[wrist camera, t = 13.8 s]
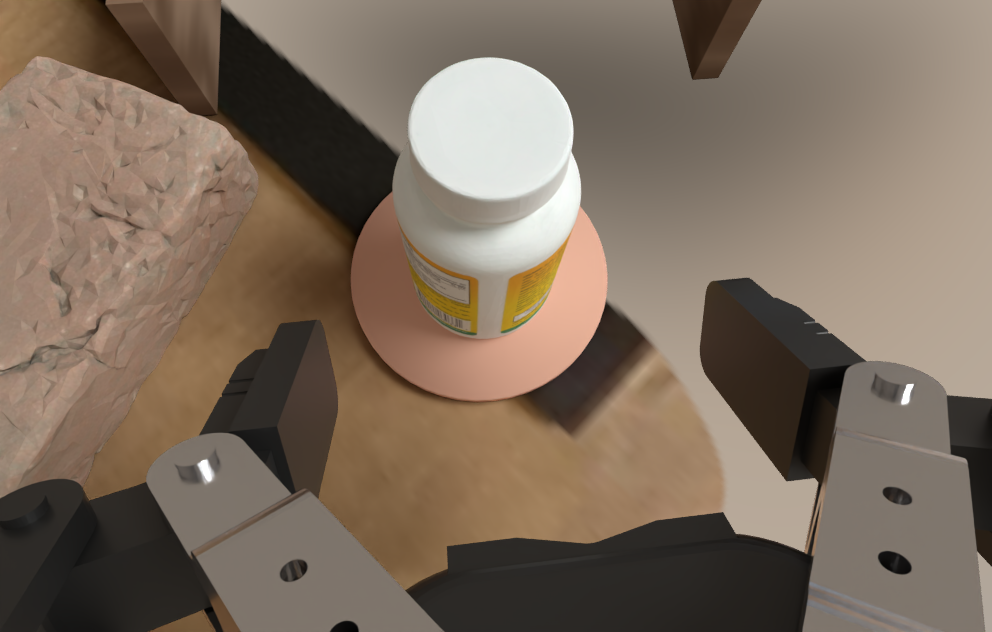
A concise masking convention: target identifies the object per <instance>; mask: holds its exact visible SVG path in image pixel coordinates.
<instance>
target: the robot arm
mask: <svg viewBox="0 0 992 632" xmlns="http://www.w3.org/2000/svg"><path fill="white" fill-rule="evenodd" d="M700 358H701V363H702V367H703V370H704V372H705V374H706V376H707V377H708V379H709V380H710V381H711V383H712V384H713V385H714V386H715V388H716V389H717V390H718V392H719V393H720V394H721V396H722V397H723V398H724V400H725V401H726V402H727V404H728V405H729V406H730V407H731V409H732V410H733V411H734V413H735V414H736V415H737V417H738V418H739V419H740V421H741V422H742V423H743V425H744V426H745V427H746V429H747V430H748V431H749V432H750V434H751V435H752V436H753V438H754V439H755V440H756V442H757V443H758V444H759V446H760V447H761V448H762V450H763V451H764V452H765V454H766V455H767V456H768V457H769V459H770V460H771V461H772V463H773V464H774V465H775V467H776V468H777V469H778V471H779V472H780V473H781V475H782V476H783V477H784V479H785V480H786V481H794V480H802V479H810V478H815V479H816V480H817V481H818V487H817V491H816V495H815V499H814V504H813V509H812V514H811V519H810V524H809V530H808V535H807V540H806V545H805V550H804V552H802V551H799V550H797V549H795V548H792V547H789V546H787V545H784V544H781V543H778V542H775V541H771V540H767V539H764V538H760V537H754V536H749V535H742V534H735V532H734V530H733V528H732V527H731V525H730V523H729V522H728V520H727V518H726V517H725V515H724V513H723V512H722V513H714V514H705V515H697V516H689V517H681V518H673V519H665V520H657V521H654V522H651V523H648V524H646V525H643V526H640V527H637V528H635V529H632V530H629V531H626V532H624V533H621V534H618V535H615V536H613V537H610V538H607V539H604V540H602V541H599V542H595V543H589V544H584V543H572V542H560V541H548V540H536V539H525V538H511V539H503V540H494V541H486V542H478V543H470V544H462V545H454V546H447V556H448V569H446V570H444V571H441V572H439V573H436V574H434V575H432V576H430V577H428V578H426V579H424V580H421V581H420V582H418V583H416V584H415V585H413V586H412V587H410V588H408V589H407V590H404V589H403V588H402V587H401V586H400V585H399V584H398V583H397V582H396V581H395V580H394V579H393V578H392V577H391V575H390V574H389V573H388V572H387V571H386V570H385V569H384V568H383V567H382V566H381V565H380V564H379V563H378V562H377V561H376V560H375V559H374V558H373V557H372V555H371V554H370V553H369V552H368V551H367V550H366V549H365V548H364V547H363V546H362V545H361V544H360V543H359V542H358V541H357V540H356V539H355V538H354V537H353V536H352V534H351V533H350V532H349V531H348V530H347V529H346V528H345V527H344V526H343V525H342V524H341V523H340V522H339V521H338V520H337V519H336V518H335V517H334V516H333V514H332V513H331V512H330V511H329V510H328V509H327V508H326V507H325V506H324V505H323V504H322V503H321V502H320V501H319V500H318V496H319V492H320V487H321V483H322V479H323V474H324V470H325V466H326V461H327V457H328V453H329V448H330V444H331V440H332V435H333V431H334V427H335V422H336V418H337V412H338V395H337V387H336V382H335V377H334V373H333V368H332V364H331V359H330V355H329V350H328V346H327V341H326V337H325V332H324V329H323V326H322V323H321V322H320V320H310V321H300V322H290V323H281V324H280V325H279V327H278V329H277V331H276V334H275V336H274V338H273V340H272V342H271V344H270V346H269V348H268V349H260V350H255V351H254V352H253V353H252V354H250V355H249V356H248V357H247V358H245V359H244V360H243V361H242V362H240V363H239V364H238V365H237V367H236V369H235V371H234V372H233V374H232V376H231V378H230V380H229V384H227V385H226V387H225V389H224V391H223V393H222V397H220V398H219V400H218V402H217V404H216V405H215V407H214V409H213V411H212V413H211V415H210V416H209V418H208V420H207V422H206V424H205V426H204V427H203V429H202V431H201V433H200V435H199V436H197V437H193V438H190V439H188V440H185V441H183V442H181V443H179V444H177V445H175V446H173V447H172V448H170V449H169V450H167V451H166V452H164V453H163V454H162V455H161V456H160V457H158V458H157V459H156V460H155V462H154V463H153V464H152V465H151V467H150V469H149V470H148V473H147V476H146V482H145V483H143V484H140V485H137V486H134V487H131V488H128V489H125V490H122V491H119V492H115V493H112V494H109V495H106V496H103V497H99V498H96V499H93V500H90V501H89V500H88V498H87V496H86V494H85V492H84V490H83V488H82V486H81V485H80V484H79V483H78V482H76V481H73V480H69V479H51V480H46V481H41V482H37V483H34V484H30V485H28V486H25V487H22V488H20V489H18V490H15V491H13V492H11V493H9V494H7V495H5V496H4V497H2V498H0V632H148V631H150V630H153V629H155V628H158V627H160V626H163V625H165V624H168V623H171V622H173V621H176V620H178V619H181V618H183V617H186V616H188V615H191V614H193V613H196V612H198V611H201V610H202V612H203V614H204V616H205V617H206V619H207V621H208V623H209V625H210V626H211V628H212V630H213V632H985V625H984V615H983V605H982V595H981V586H980V577H979V567H978V557H977V551H978V552H979V554H980V555H981V556H982V557H983V558H984V559H985V560H986V561H987V562H988V563H989V564H990V565H991V566H992V399H985V398H973V397H959V396H948V395H947V394H946V391H945V389H944V388H943V386H942V385H941V384H940V383H939V382H938V381H936V380H935V379H934V378H932V377H931V376H929V375H927V374H925V373H923V372H921V371H919V370H916V369H914V368H911V367H908V366H905V365H900V364H896V363H890V362H881V361H868V362H867V361H865V360H864V359H863V358H861V357H860V356H859V355H858V354H857V353H855V352H854V351H853V350H852V349H850V348H849V347H848V346H847V345H845V344H844V343H843V342H842V341H840V340H839V339H838V338H837V337H835V336H834V335H833V334H828V330H827V329H825V328H824V327H823V326H822V325H820V324H819V323H815V320H814V319H813V318H812V317H810V316H809V315H808V314H807V313H805V312H804V311H803V310H802V309H800V308H799V307H797V306H794V305H792V304H789V303H787V302H785V301H782V300H780V299H778V298H773V297H772V296H771V295H770V294H768V293H767V292H766V291H765V290H764V289H762V288H761V287H760V286H758V284H756V283H755V282H754V281H753V280H751V279H750V278H739V279H729V280H720V281H712V282H711V283H710V284H709V285H708V287H707V291H706V296H705V305H704V315H703V323H702V333H701V342H700Z"/></svg>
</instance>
